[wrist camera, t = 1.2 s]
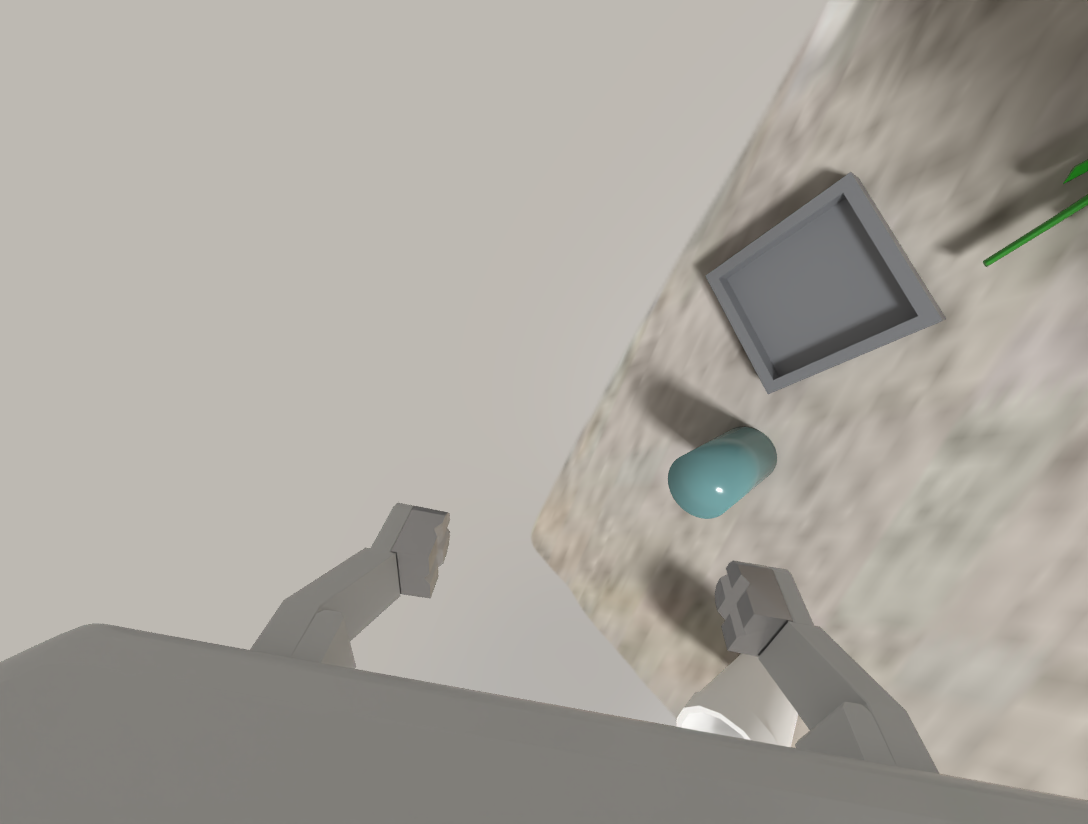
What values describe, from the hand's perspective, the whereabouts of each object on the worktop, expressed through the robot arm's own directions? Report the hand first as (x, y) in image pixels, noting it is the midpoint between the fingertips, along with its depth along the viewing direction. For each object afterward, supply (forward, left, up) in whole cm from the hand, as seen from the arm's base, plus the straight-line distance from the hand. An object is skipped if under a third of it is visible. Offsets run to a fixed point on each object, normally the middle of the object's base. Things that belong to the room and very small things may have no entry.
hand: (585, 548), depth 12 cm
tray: (0, -8, -37) cm, 37 cm away
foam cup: (+21, +27, -37) cm, 51 cm away
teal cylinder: (+12, +3, -37) cm, 39 cm away
